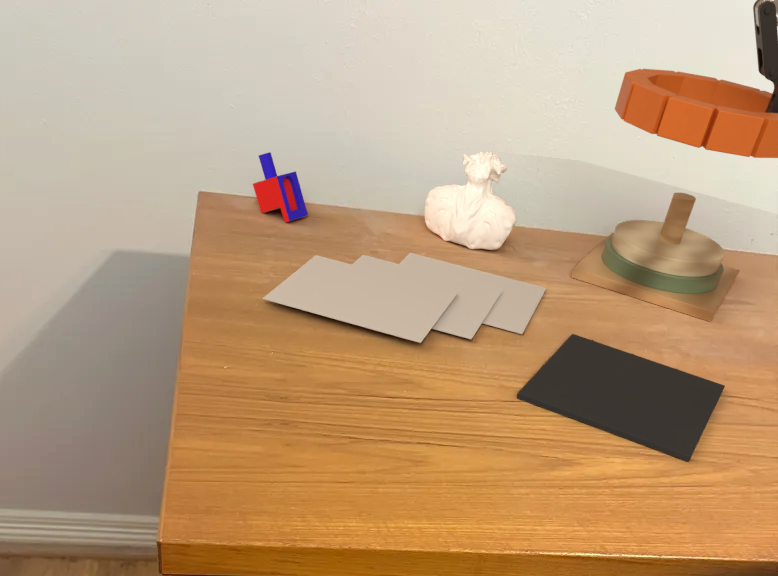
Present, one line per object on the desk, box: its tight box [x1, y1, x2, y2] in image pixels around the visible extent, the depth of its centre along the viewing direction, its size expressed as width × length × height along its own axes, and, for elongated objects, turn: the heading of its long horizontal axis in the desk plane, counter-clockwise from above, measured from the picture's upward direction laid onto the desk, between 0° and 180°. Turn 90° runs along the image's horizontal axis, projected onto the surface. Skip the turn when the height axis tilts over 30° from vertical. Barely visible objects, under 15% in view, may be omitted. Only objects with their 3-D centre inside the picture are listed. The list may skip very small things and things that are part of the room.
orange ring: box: [614, 68, 778, 159], centre depth 76 cm, size 16×16×3 cm
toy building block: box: [252, 152, 309, 223], centre depth 105 cm, size 4×4×8 cm
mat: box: [516, 333, 726, 463], centre depth 81 cm, size 16×16×1 cm
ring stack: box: [570, 192, 740, 323], centre depth 104 cm, size 17×17×10 cm
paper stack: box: [261, 252, 547, 344], centre depth 92 cm, size 23×25×1 cm
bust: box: [423, 151, 518, 251], centre depth 106 cm, size 12×8×11 cm
